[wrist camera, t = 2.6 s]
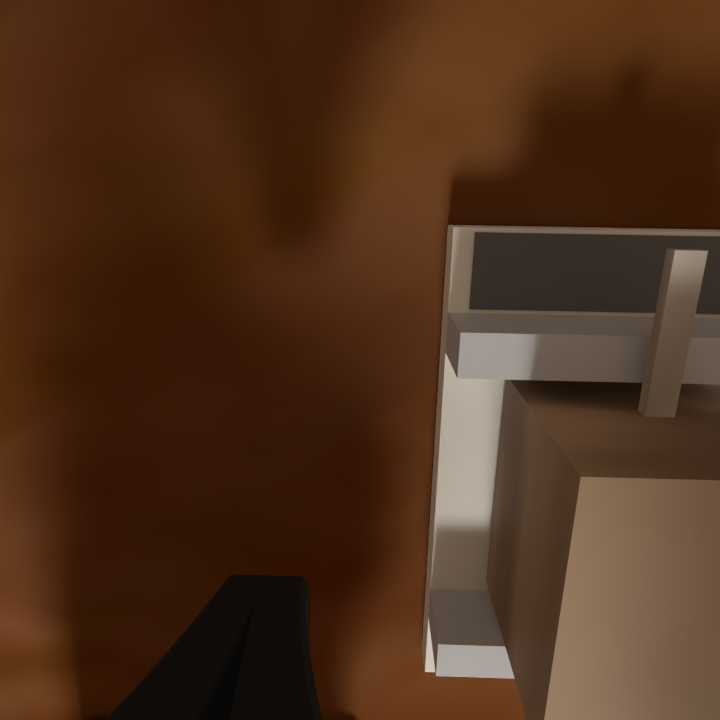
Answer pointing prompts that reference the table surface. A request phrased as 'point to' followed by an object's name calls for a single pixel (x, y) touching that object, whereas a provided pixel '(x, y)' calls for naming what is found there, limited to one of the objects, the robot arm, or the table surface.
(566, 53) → the table surface
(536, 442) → the gauge slider
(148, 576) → the table surface
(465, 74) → the table surface
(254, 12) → the table surface
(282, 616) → the robot arm
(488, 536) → the gauge base
